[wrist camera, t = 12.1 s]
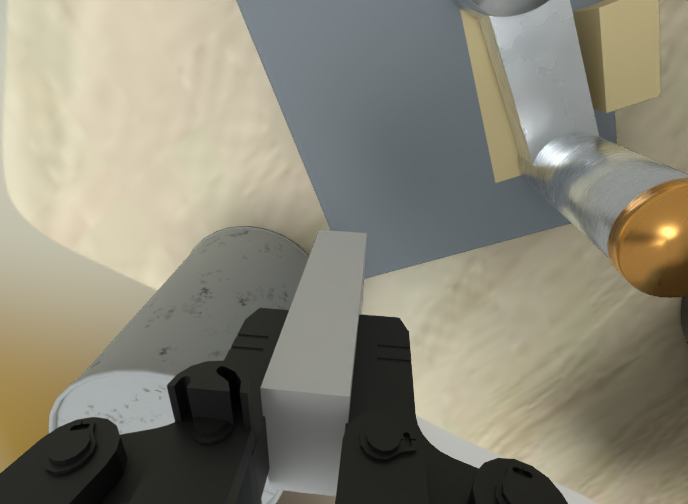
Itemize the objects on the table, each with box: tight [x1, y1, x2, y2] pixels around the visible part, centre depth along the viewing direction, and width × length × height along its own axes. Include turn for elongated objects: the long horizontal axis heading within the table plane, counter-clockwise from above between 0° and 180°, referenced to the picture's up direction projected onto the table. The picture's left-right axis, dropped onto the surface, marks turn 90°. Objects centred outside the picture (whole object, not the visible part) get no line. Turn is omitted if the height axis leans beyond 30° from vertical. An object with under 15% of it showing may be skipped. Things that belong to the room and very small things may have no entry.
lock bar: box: [453, 0, 688, 298], centre depth 13 cm, size 13×4×10 cm, turn 26°
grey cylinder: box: [49, 227, 309, 504], centre depth 21 cm, size 10×10×12 cm
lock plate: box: [236, 0, 660, 279], centre depth 16 cm, size 24×16×5 cm, turn 20°
